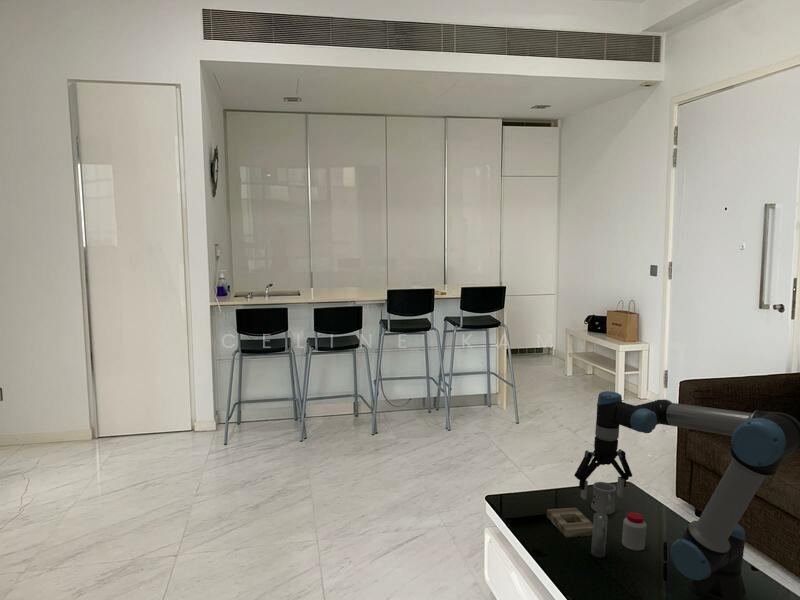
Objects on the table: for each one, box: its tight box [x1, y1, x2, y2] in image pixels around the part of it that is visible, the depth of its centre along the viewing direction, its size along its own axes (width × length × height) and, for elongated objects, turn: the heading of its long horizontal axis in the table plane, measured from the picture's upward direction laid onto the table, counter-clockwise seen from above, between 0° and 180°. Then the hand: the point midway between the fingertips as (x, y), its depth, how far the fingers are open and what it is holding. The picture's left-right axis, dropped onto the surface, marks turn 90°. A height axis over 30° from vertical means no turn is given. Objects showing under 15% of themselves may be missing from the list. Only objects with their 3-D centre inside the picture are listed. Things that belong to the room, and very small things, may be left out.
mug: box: [590, 481, 617, 515], centre depth 237 cm, size 12×9×10 cm
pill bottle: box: [621, 511, 648, 551], centre depth 212 cm, size 8×8×11 cm
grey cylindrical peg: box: [590, 512, 609, 558], centre depth 205 cm, size 5×5×14 cm
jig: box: [546, 507, 593, 538], centre depth 225 cm, size 16×12×3 cm
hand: (601, 497), depth 204 cm, fingers open, 13 cm apart
